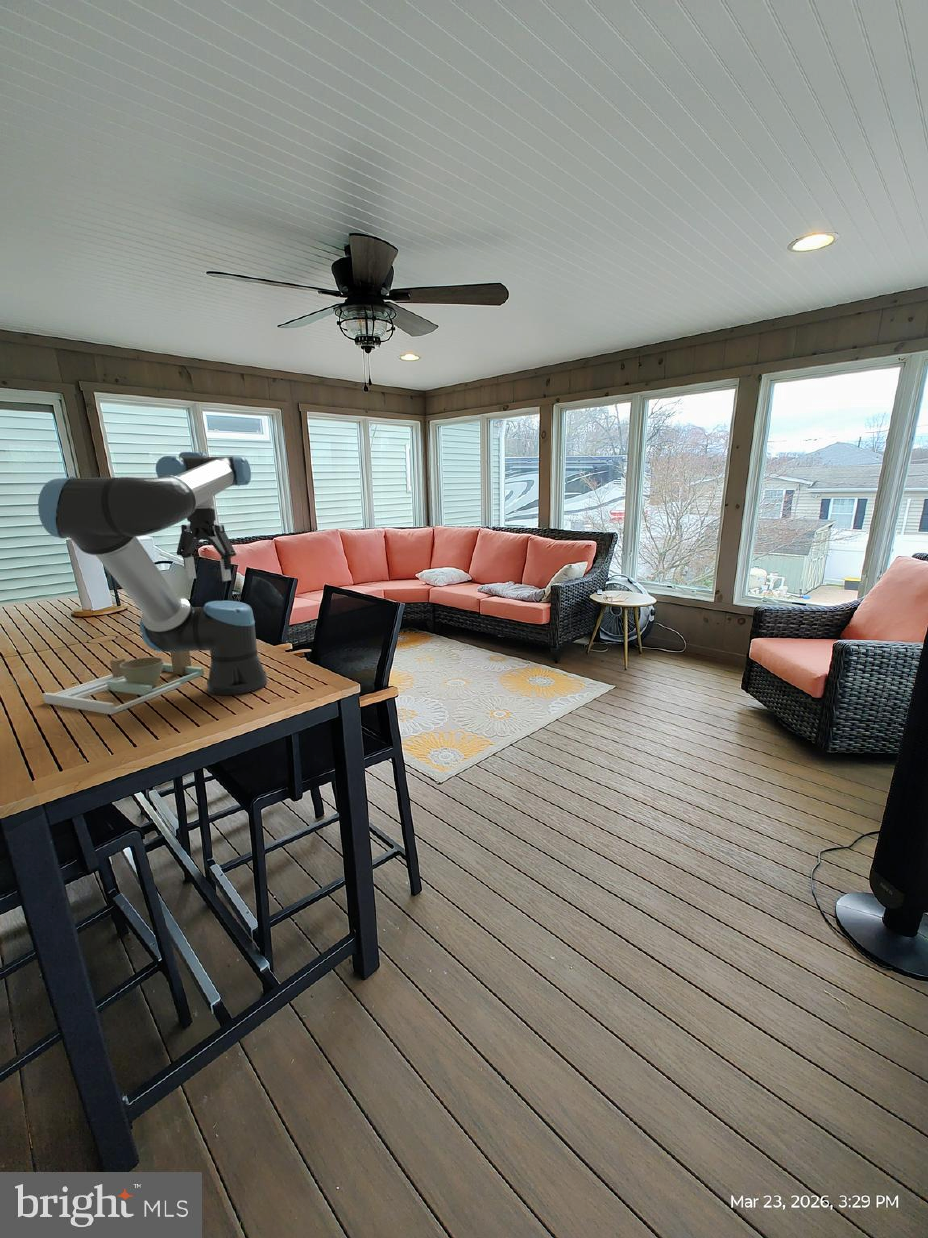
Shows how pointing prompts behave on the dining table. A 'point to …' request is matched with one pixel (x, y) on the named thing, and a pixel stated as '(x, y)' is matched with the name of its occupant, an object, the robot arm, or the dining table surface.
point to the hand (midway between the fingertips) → (209, 579)
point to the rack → (95, 705)
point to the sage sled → (178, 666)
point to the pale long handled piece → (116, 676)
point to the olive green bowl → (142, 670)
